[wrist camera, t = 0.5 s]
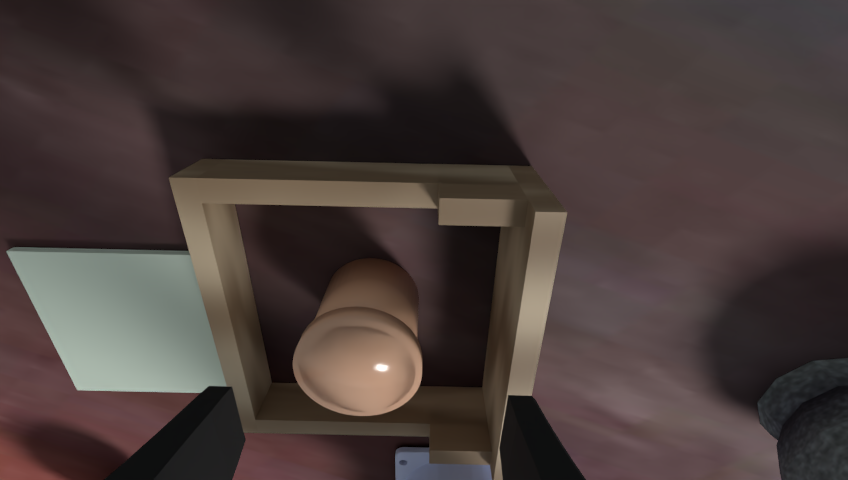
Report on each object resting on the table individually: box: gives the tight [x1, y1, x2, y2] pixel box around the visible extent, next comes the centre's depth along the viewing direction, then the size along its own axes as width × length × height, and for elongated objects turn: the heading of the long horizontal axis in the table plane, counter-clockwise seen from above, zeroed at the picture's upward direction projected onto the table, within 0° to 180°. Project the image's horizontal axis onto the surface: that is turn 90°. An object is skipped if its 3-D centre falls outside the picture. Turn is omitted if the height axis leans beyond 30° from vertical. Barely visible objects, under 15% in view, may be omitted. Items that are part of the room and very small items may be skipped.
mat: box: [6, 247, 226, 393], centre depth 21 cm, size 9×9×1 cm
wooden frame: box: [169, 159, 567, 480], centre depth 18 cm, size 14×14×5 cm
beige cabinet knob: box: [293, 258, 423, 416], centre depth 18 cm, size 5×5×5 cm
